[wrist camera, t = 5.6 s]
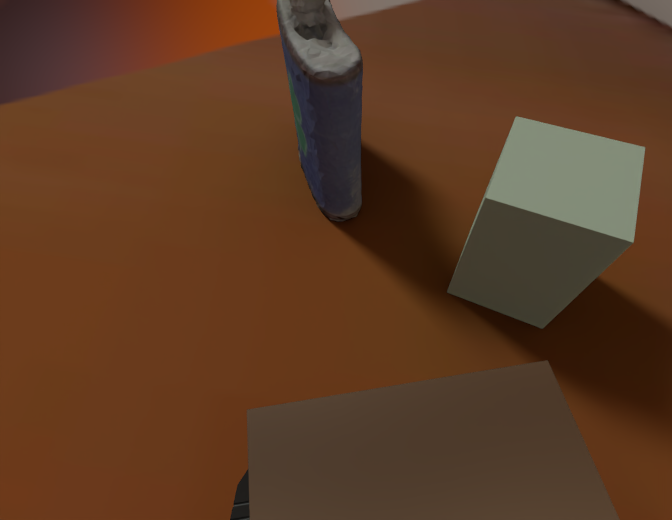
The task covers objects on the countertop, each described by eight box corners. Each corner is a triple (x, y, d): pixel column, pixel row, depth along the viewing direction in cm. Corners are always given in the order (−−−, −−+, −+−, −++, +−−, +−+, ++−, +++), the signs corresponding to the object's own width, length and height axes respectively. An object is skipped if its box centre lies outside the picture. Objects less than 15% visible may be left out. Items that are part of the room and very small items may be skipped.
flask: (367, 218, 22) (371, 13, 13) (316, 229, 21) (282, 28, 12) (332, 114, 27) (317, -87, 17) (290, 123, 26) (252, -77, 17)
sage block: (542, 329, 18) (633, 242, 12) (446, 292, 19) (485, 197, 13) (560, 253, 20) (645, 147, 14) (472, 224, 21) (516, 116, 15)
